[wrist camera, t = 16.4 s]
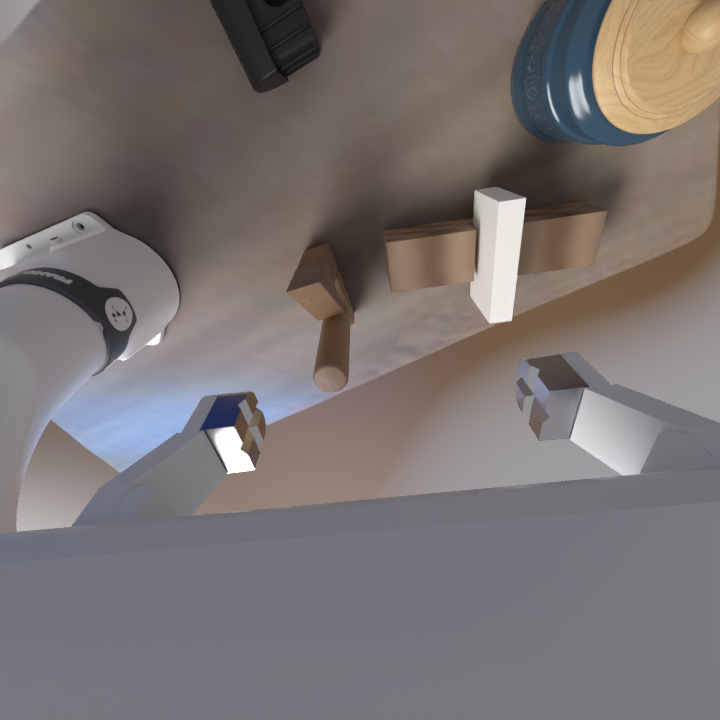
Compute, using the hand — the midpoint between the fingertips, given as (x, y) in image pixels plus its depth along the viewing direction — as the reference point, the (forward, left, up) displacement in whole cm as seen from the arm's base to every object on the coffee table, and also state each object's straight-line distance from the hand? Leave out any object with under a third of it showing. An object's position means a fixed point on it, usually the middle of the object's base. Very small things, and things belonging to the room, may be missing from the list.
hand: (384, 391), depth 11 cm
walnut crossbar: (+14, -7, -37) cm, 40 cm away
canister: (+23, +9, -37) cm, 45 cm away
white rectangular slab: (+14, -7, -35) cm, 38 cm away
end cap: (-7, +17, -37) cm, 42 cm away
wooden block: (-6, -10, -37) cm, 39 cm away
